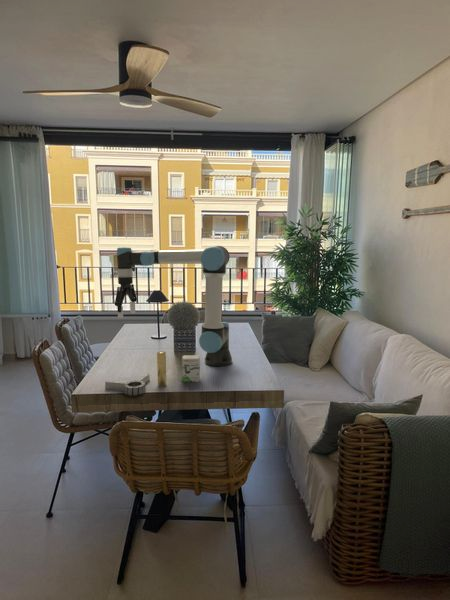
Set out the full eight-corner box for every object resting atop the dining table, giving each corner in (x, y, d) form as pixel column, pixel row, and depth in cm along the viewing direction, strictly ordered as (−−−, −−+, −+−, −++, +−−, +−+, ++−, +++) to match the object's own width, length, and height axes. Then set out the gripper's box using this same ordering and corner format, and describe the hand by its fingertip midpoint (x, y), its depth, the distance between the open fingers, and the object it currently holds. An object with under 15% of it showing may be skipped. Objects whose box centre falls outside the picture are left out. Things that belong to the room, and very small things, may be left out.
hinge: (157, 381, 190) (157, 374, 189) (139, 396, 171) (139, 388, 171) (121, 377, 194) (121, 371, 194) (100, 392, 176) (100, 384, 175)
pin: (167, 384, 186) (166, 351, 183) (164, 387, 182) (163, 354, 179) (159, 383, 187) (159, 351, 184) (156, 386, 183) (155, 353, 180)
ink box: (182, 382, 188) (181, 358, 187) (182, 378, 193) (182, 355, 192) (199, 381, 189) (199, 358, 187) (199, 377, 194) (199, 355, 192)
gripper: (130, 274, 221) (131, 311, 224) (106, 278, 197) (108, 319, 200) (142, 274, 219) (143, 311, 222) (119, 278, 195) (121, 320, 198)
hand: (127, 315), depth 211 cm, fingers open, 13 cm apart
